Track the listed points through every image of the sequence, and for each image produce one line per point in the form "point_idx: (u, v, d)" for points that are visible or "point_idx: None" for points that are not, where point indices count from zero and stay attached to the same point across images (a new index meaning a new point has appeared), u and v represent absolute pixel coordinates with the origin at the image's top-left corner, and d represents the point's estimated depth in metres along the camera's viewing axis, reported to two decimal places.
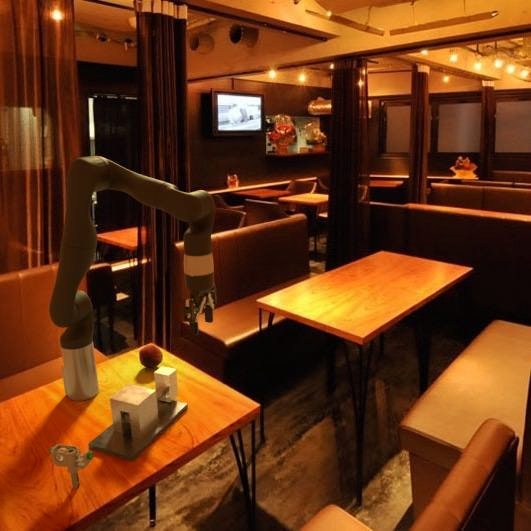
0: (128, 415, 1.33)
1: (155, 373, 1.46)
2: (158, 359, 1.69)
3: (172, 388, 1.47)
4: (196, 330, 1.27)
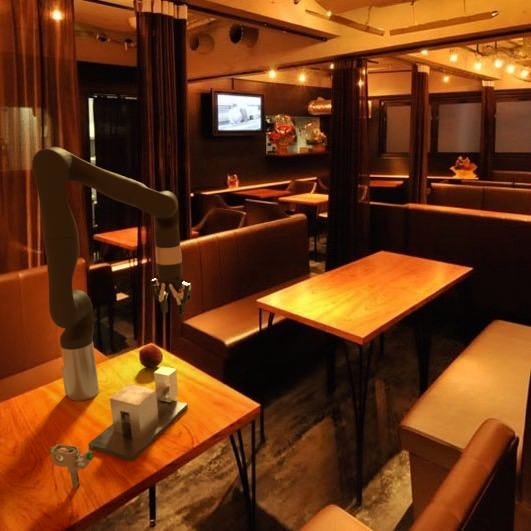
0: (128, 415, 1.33)
1: (155, 373, 1.46)
2: (158, 359, 1.69)
3: (172, 388, 1.47)
4: None
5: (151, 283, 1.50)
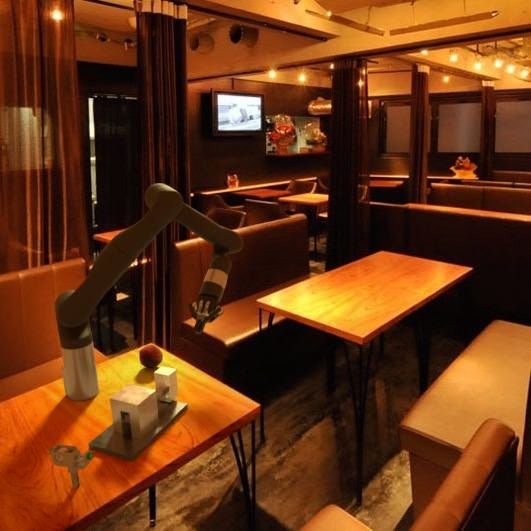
0: (128, 415, 1.33)
1: (155, 373, 1.46)
2: (158, 359, 1.69)
3: (172, 388, 1.47)
4: None
5: (190, 305, 1.66)
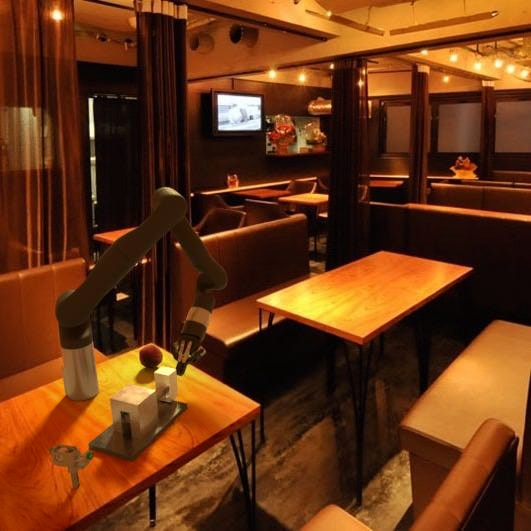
0: (128, 415, 1.33)
1: (155, 373, 1.46)
2: (158, 359, 1.69)
3: (172, 388, 1.47)
4: None
5: (171, 345, 1.59)
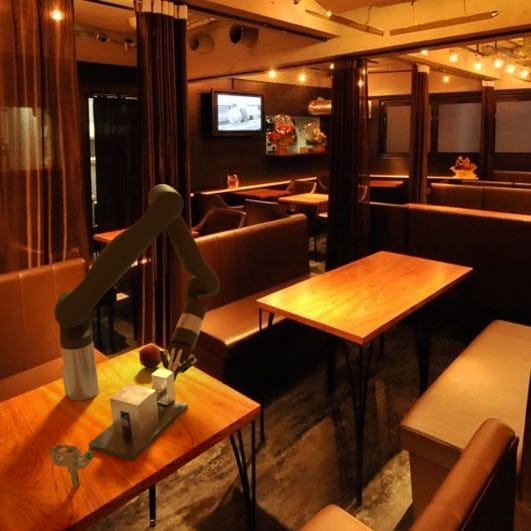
0: (125, 418, 1.32)
1: (152, 375, 1.45)
2: (158, 359, 1.69)
3: (169, 391, 1.46)
4: None
5: (161, 353, 1.54)
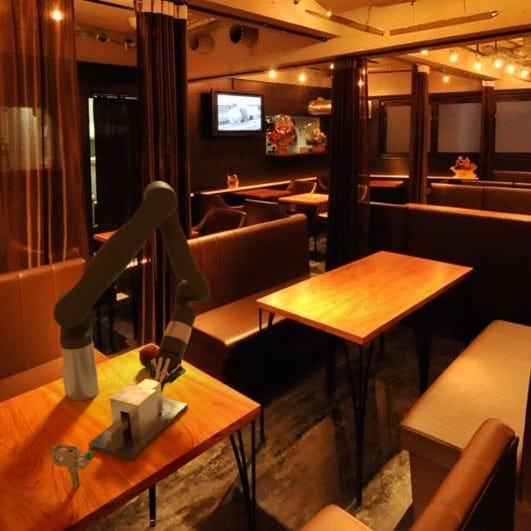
0: (108, 432, 1.26)
1: None
2: None
3: None
4: None
5: (148, 362, 1.48)
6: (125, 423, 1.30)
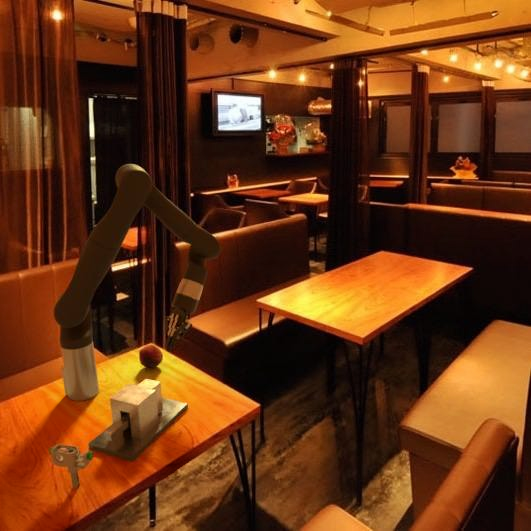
0: (108, 432, 1.26)
1: None
2: (158, 359, 1.69)
3: None
4: None
5: (166, 318, 1.58)
6: (125, 423, 1.30)
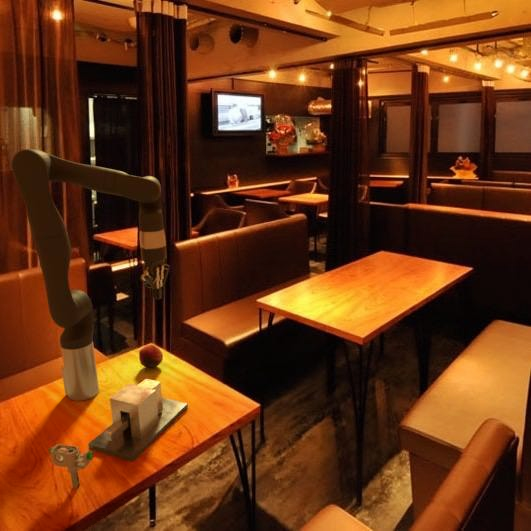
0: (108, 432, 1.26)
1: None
2: (158, 359, 1.69)
3: None
4: (158, 295, 1.53)
5: None
6: (125, 423, 1.30)
